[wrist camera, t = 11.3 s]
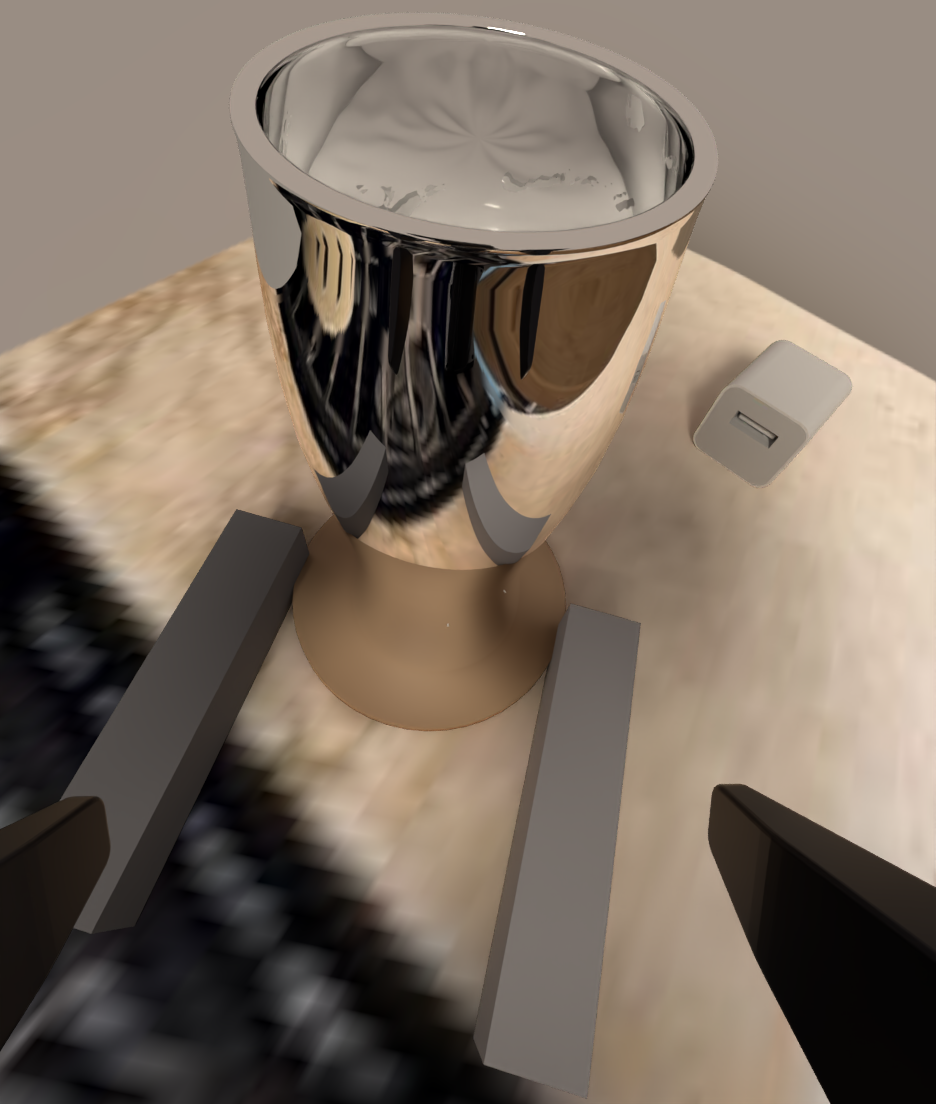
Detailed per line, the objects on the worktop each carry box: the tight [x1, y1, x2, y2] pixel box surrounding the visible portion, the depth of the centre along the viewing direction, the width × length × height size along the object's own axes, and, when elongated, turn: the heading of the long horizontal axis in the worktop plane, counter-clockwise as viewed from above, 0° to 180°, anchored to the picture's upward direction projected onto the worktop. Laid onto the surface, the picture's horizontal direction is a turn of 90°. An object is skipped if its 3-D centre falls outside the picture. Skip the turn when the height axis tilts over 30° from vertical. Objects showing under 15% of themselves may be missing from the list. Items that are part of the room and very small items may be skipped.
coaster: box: [293, 515, 566, 731], centre depth 21 cm, size 10×10×1 cm
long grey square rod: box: [60, 509, 309, 934], centre depth 17 cm, size 12×2×2 cm, turn 165°
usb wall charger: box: [693, 340, 852, 488], centre depth 25 cm, size 4×7×4 cm, turn 136°
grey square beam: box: [473, 604, 641, 1099], centre depth 17 cm, size 12×2×2 cm, turn 165°
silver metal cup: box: [229, 12, 718, 672], centre depth 14 cm, size 7×7×15 cm
